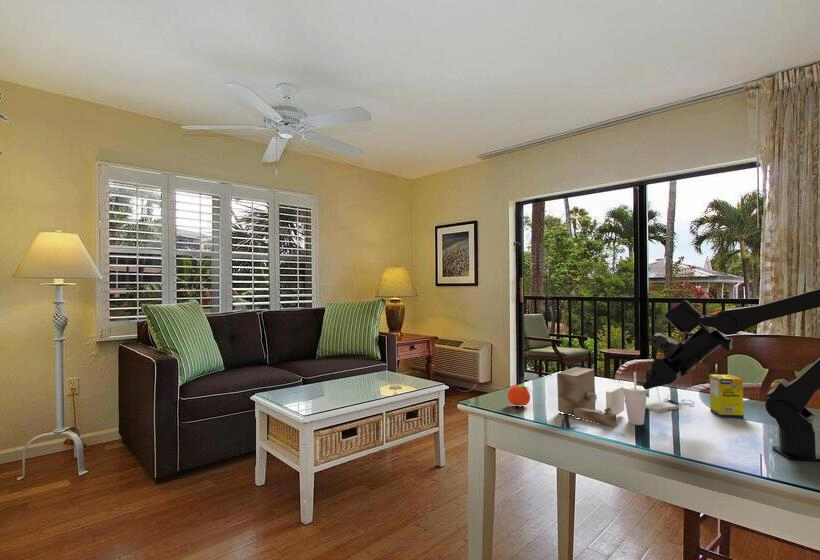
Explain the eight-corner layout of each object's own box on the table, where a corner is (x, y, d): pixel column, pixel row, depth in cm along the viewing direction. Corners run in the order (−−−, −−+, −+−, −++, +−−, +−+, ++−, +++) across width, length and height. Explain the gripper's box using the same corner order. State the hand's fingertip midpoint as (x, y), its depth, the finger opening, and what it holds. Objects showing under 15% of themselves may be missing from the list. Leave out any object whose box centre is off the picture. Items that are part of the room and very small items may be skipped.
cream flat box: (624, 410, 124) (623, 386, 125) (608, 419, 117) (607, 394, 117) (618, 409, 126) (618, 385, 126) (603, 418, 118) (602, 393, 118)
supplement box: (744, 418, 119) (743, 378, 119) (720, 417, 121) (719, 378, 121) (733, 411, 125) (731, 374, 125) (710, 411, 126) (708, 374, 126)
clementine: (536, 405, 137) (535, 383, 137) (530, 411, 131) (529, 388, 131) (511, 402, 141) (511, 381, 141) (505, 408, 135) (504, 385, 135)
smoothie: (625, 425, 116) (623, 373, 116) (621, 418, 122) (619, 369, 122) (652, 427, 114) (650, 374, 114) (646, 419, 120) (644, 369, 120)
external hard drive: (643, 400, 141) (679, 410, 130) (624, 403, 138) (659, 414, 127) (643, 395, 141) (678, 404, 130) (624, 398, 138) (659, 408, 127)
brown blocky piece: (631, 415, 124) (630, 373, 125) (613, 427, 115) (612, 382, 115) (576, 404, 136) (575, 367, 136) (555, 414, 127) (554, 374, 127)
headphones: (681, 411, 127) (679, 343, 127) (642, 403, 136) (640, 340, 136) (702, 402, 135) (700, 338, 136) (664, 395, 145) (662, 335, 145)
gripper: (680, 320, 118) (638, 356, 126) (659, 326, 105) (613, 366, 113) (716, 352, 112) (669, 387, 120) (698, 362, 100) (647, 401, 107)
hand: (649, 384), depth 116 cm, fingers open, 9 cm apart
